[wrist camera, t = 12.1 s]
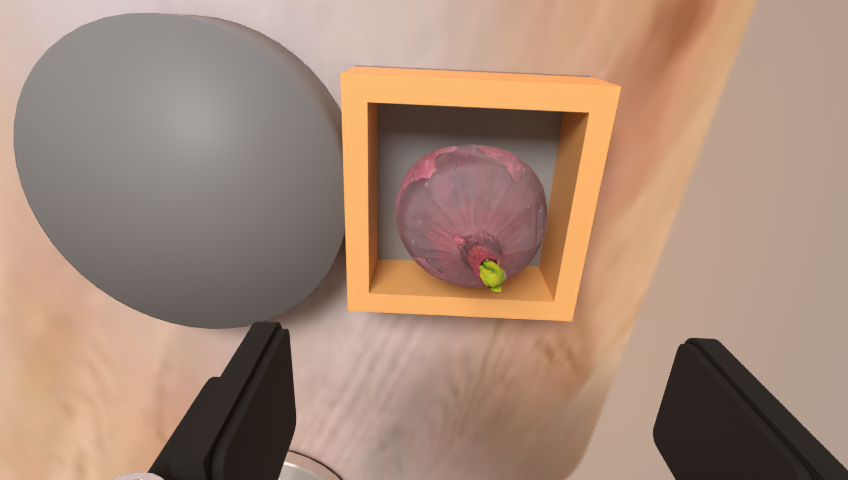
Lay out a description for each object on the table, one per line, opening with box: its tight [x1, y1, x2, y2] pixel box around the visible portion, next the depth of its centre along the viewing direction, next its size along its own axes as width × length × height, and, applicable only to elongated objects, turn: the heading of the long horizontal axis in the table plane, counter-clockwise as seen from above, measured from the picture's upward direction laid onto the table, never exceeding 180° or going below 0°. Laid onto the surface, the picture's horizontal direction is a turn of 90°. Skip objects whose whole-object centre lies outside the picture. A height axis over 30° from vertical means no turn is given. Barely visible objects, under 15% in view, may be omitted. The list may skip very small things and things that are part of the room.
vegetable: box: [395, 144, 547, 292], centre depth 18 cm, size 6×6×10 cm
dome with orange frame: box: [14, 13, 621, 329], centre depth 21 cm, size 14×24×4 cm, turn 88°
